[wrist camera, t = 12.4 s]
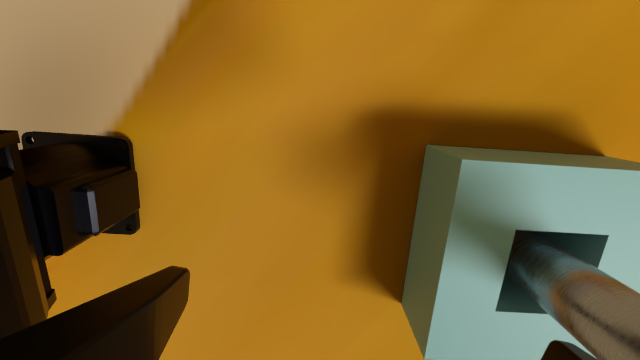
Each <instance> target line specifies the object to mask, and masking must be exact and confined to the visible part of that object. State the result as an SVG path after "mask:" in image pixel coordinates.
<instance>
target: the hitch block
mask: <svg viewBox="0 0 640 360" xmlns="http://www.w3.org/2000/svg"><path fill="white" fill-rule="evenodd" d="M516 230H530V231H537V232H538V233H540V234H542V235H543V236H545V237H547V238H548V239H550V240H552V241H553V242H555V243H557V244H558V245H560V246H562V247H563V248H565V249H567V250H568V251H570V252H572V253H573V254H575V255H577V256H578V257H580V258H582V259H583V260H585V261H587V262H588V263H590V264H592V265H593V266H595V267H597V268H598V269H600V270H602V271H603V272H605V273H607V274H608V275H610V276H612V277H613V278H615V279H617V280H618V281H620V282H622V283H623V284H625V285H626V286H628V287H630V288H631V289H633V290H635V291H636V292H638V293H640V163H637V162H632V161H627V160H622V159H617V158H612V157H607V156H593V155H578V154H563V153H547V152H532V151H517V150H501V149H486V148H471V147H455V146H440V145H426V150H425V157H424V163H423V169H422V176H421V182H420V188H419V195H418V201H417V207H416V214H415V220H414V226H413V233H412V239H411V245H410V252H409V258H408V264H407V271H406V277H405V283H404V290H403V296H402V302H401V304H402V307H403V309H404V311H405V314H406V316H407V319H408V321H409V324H410V326H411V328H412V331H413V333H414V336H415V338H416V340H417V343H418V345H419V348H420V350H421V352H422V355H423V357H424V359H433V360H541V358H542V356H543V354H544V352H545V350H546V348H547V346H548V344H549V343H550V342H551V341H553V340H559V341H564V342H569V343H572V344H574V345H576V346H578V347H579V348H581V349H582V350H584V351H585V352H587V353H589V354H590V355H592V354H591V353H590V352H589V351H588V350H587V349H586V348H585V347H584V346H583V345H582V344H580V343H579V342H578V341H577V340H576V339H575V338H574V337H573V336H572V335H571V334H570V333H569V332H567V331H566V330H565V329H564V328H563V327H562V326H561V325H560V324H559V323H558V322H557V321H556V320H554V319H553V318H552V317H551V316H550V315H549V314H548V313H547V312H546V311H545V310H544V309H543V308H541V307H540V306H539V305H538V304H537V303H536V302H535V301H534V300H533V299H532V298H531V297H530V296H529V295H527V294H526V293H525V292H524V291H523V290H522V289H521V288H520V287H519V286H518V285H517V284H516V283H514V282H513V281H512V280H511V279H510V278H509V277H508V276H507V275H506V274H505V271H506V267H507V263H508V259H509V255H510V251H511V247H512V243H513V239H514V235H515V231H516ZM592 356H593V355H592ZM593 357H594V356H593ZM595 358H596V357H595ZM596 359H597V358H596Z"/></svg>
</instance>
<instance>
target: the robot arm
mask: <svg viewBox="0 0 640 360" xmlns="http://www.w3.org/2000/svg"><path fill="white" fill-rule="evenodd" d="M32 138H33V139H34V142H33V141H32ZM121 142H122V143H123V144H124V145H125V148H124V149H123V148H122V147H121V145H120V144H121ZM17 143H20V139H19V135H18V131H13V130H11V131H10V130H0V360H159V358H160V356H161V354H162V352H163V350H164V348H165V346H166V344H167V342H168V340H169V338H170V336H171V334H172V332H173V330H174V328H175V326H176V324H177V322H178V320H179V318H180V317H181V315H182V313H183V311H184V309H185V306H186V304H187V301H188V294H189V280H190V272H189V270H188V269H187V268H183V267H178V266H170V267H168V268H165V269H163V270H161V271H158V272H156V273H154V274H151V275H149V276H147V277H144V278H142V279H140V280H137V281H135V282H133V283H130V284H128V285H126V286H123V287H121V288H118V289H116V290H114V291H111V292H109V293H107V294H104V295H102V296H100V297H97V298H95V299H93V300H90V301H88V302H86V303H83V304H81V305H79V306H76V307H74V308H72V309H69V310H67V311H65V312H62V313H60V314H58V315H55V316H53V317H51V318H48V319H47V316H48V311H49V309H50V308H51V306H52V305H53V304H54V302H55V301H56V299H57V298H56V294H55V290H54V289H51V284H50V280H49V276H48V272H47V267H46V263H45V260H47V259H48V258H50V257H52V256H60V255H63V254H64V253H66V252H68V251H69V250H71V249H72V248H74V247H76V246H77V245H79V244H81V243H82V242H84V241H86V240H87V239H89V238H90V237H92V236H97V235H99V234H100V233H109V234H127V235H131V234H134V233H136V232H137V231H138V230H139V229H140V220H139V208H140V201H139V190H138V179H137V172H136V171H135V167H134V156H133V145H132V142H131V141H130V140H129V139H128V138H125V137H113V136H97V135H82V134H66V133H50V132H35V131H34V132H26V133H24V134H23V135H22V145H23V149H22V150H19V149H18V144H17ZM129 224H130V225H132V227H133V229H132V228H130V227H129ZM541 360H598V359H596V358H595V357H593V356H592V355H590V354H589V353H587V352H585V351H584V350H582V349H581V348H579V347H578V346H576V345H574V344H572V343H569V342H564V341H559V340H553V341H551V342H550V343H549V344H548V346H547V348H546V350H545V352H544V354H543V356H542V358H541Z"/></svg>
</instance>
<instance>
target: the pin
mask: <svg viewBox="0 0 640 360" xmlns="http://www.w3.org/2000/svg"><path fill="white" fill-rule="evenodd" d="M505 274H506V275H507V276H508V277H509V278H510V279H511V280H512V281H513V282H514V283H516V284H517V285H518V286H519V287H520V288H521V289H522V290H523V291H524V292H525V293H526V294H527V295H529V296H530V297H531V298H532V299H533V300H534V301H535V302H536V303H537V304H538V305H539V306H540V307H541V308H543V309H544V310H545V311H546V312H547V313H548V314H549V315H550V316H551V317H552V318H553V319H554V320H556V321H557V322H558V323H559V324H560V325H561V326H562V327H563V328H564V329H565V330H566V331H567V332H569V333H570V334H571V335H572V336H573V337H574V338H575V339H576V340H577V341H578V342H579V343H580V344H582V345H583V346H584V347H585V348H586V349H587V350H588V351H589V352H590V353H591V354H592V355H593V356H594V357H596V358H597V359H598V360H640V293H638V292H636V291H635V290H633V289H631V288H630V287H628V286H626V285H625V284H623V283H622V282H620V281H618V280H617V279H615V278H613V277H612V276H610V275H608V274H607V273H605V272H603V271H602V270H600V269H598V268H597V267H595V266H593V265H592V264H590V263H588V262H587V261H585V260H583V259H582V258H580V257H578V256H577V255H575V254H573V253H572V252H570V251H568V250H567V249H565V248H563V247H562V246H560V245H558V244H557V243H555V242H553V241H552V240H550V239H548V238H547V237H545V236H543V235H542V234H540V233H538V232H537V231H530V230H516V231H515V235H514V239H513V243H512V247H511V251H510V255H509V259H508V263H507V267H506V271H505Z"/></svg>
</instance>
